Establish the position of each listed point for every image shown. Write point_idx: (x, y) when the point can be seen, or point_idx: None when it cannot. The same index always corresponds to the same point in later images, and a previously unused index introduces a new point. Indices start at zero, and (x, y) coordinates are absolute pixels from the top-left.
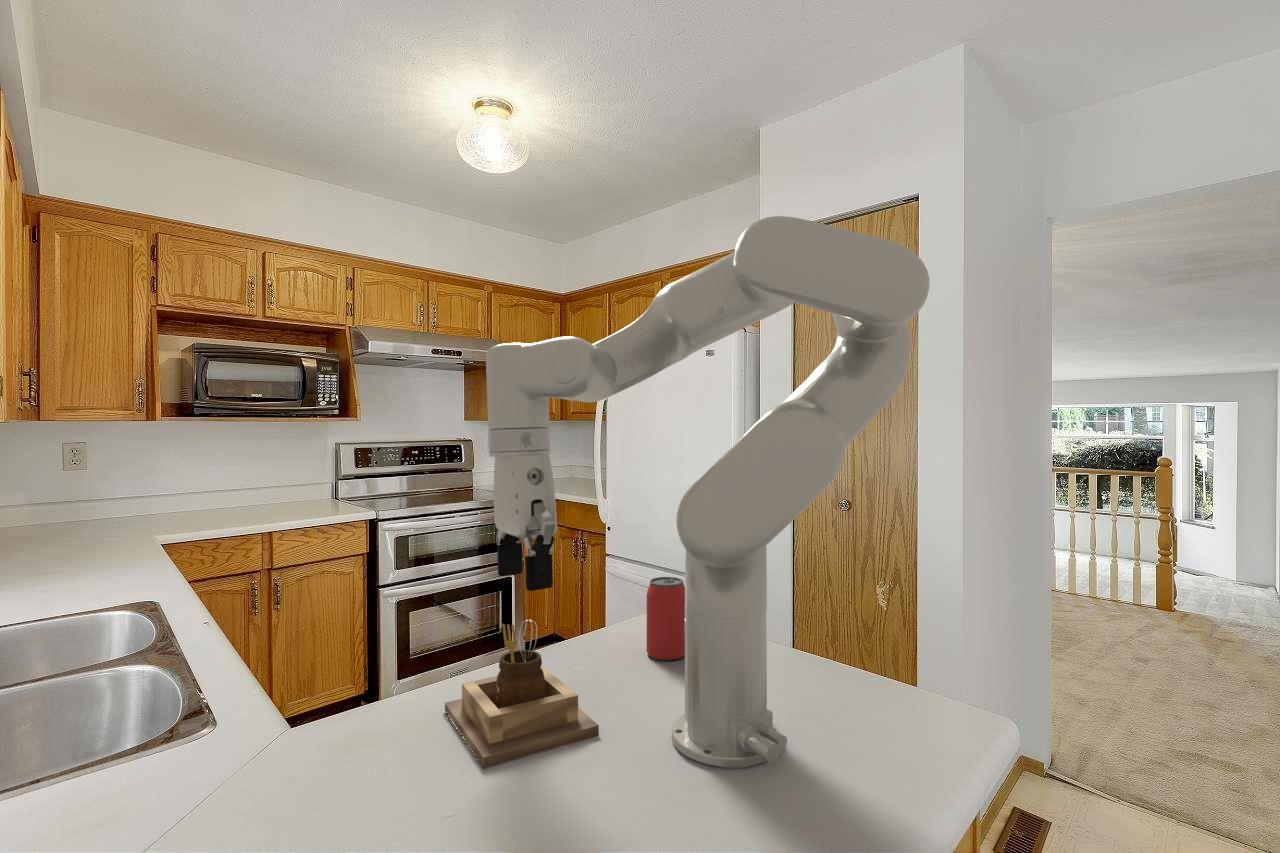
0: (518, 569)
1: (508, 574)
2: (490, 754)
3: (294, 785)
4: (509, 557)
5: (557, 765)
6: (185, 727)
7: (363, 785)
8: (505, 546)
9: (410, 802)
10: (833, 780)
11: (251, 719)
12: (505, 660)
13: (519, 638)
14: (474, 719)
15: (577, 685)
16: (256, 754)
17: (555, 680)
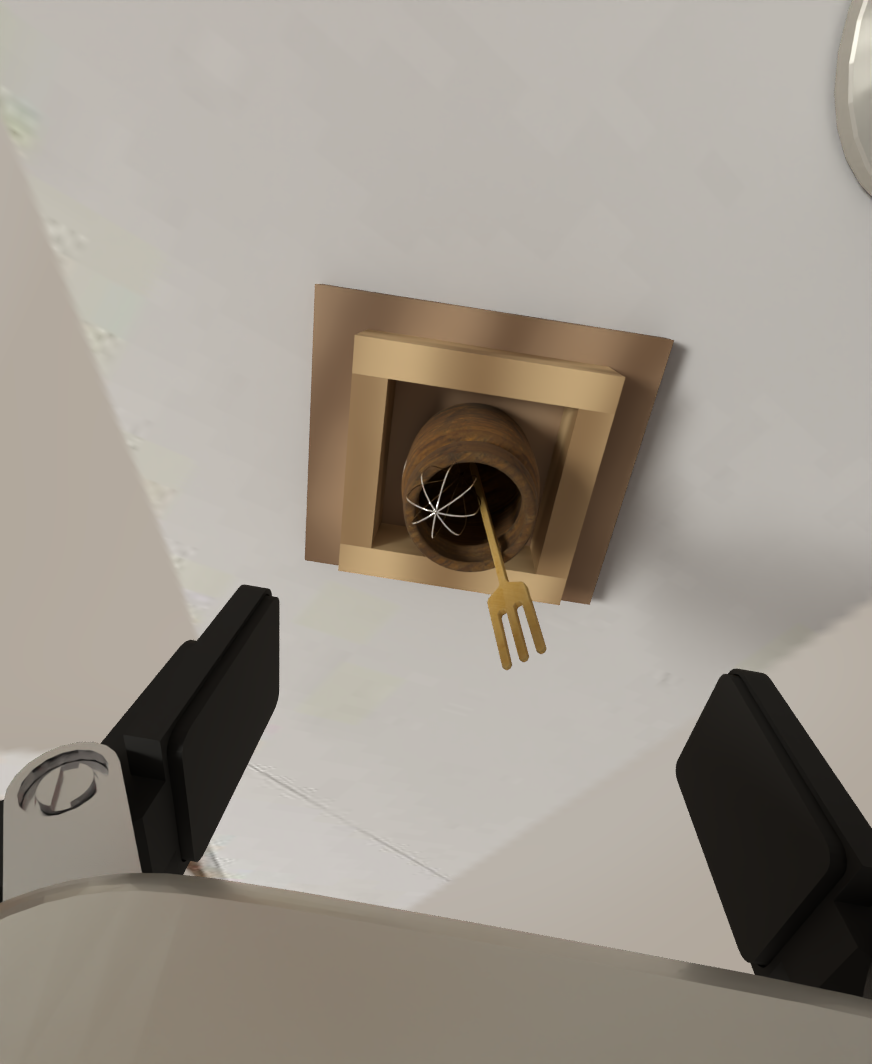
0: (271, 629)
1: (278, 667)
2: (590, 591)
3: (422, 781)
4: (231, 739)
5: (687, 488)
6: None
7: (489, 728)
8: (194, 840)
9: (585, 702)
10: None
11: None
12: (419, 530)
13: (419, 512)
14: None
15: (358, 178)
16: (294, 792)
17: (485, 368)
